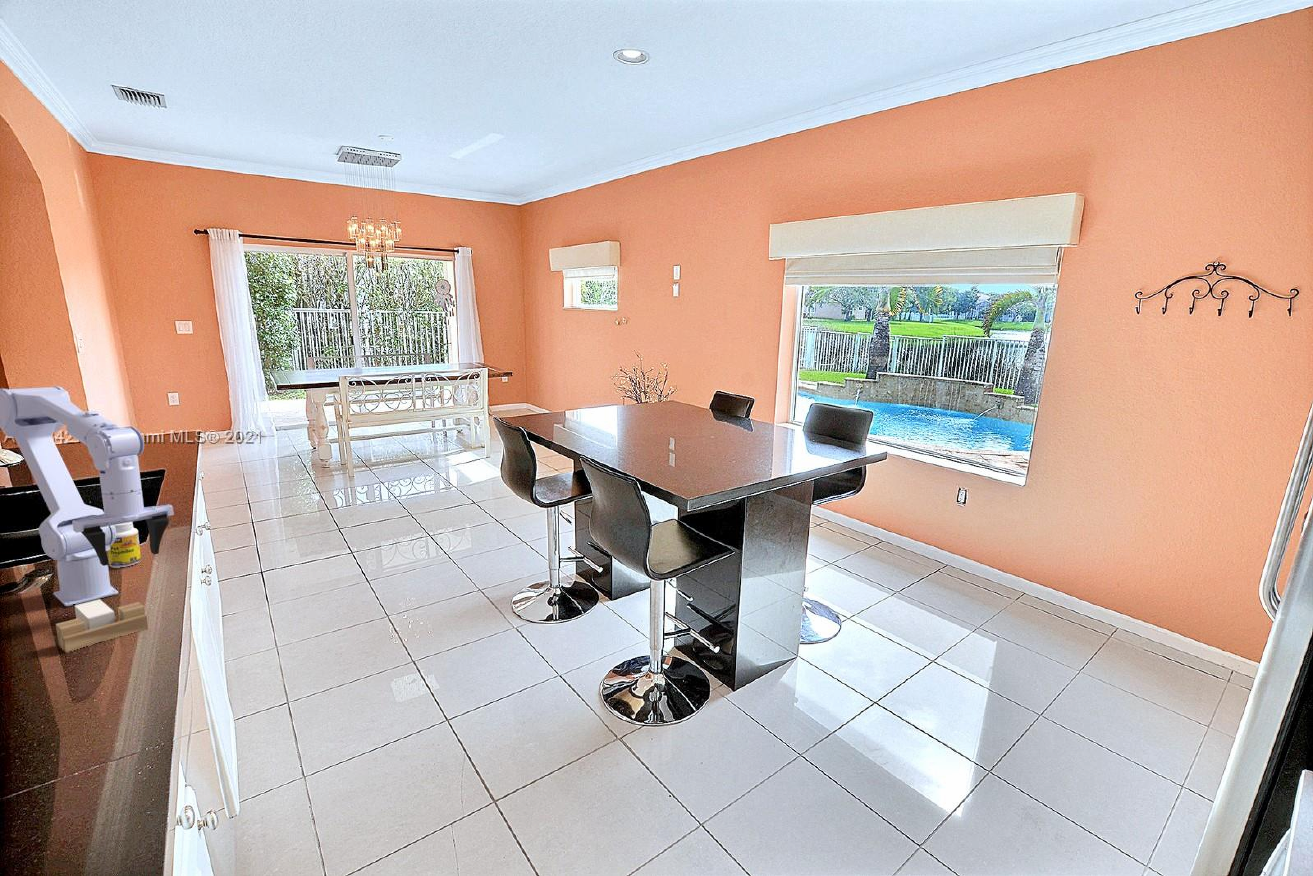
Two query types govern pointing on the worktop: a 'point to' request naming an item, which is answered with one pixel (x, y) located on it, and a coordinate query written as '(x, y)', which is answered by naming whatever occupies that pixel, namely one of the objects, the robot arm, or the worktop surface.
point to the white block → (95, 614)
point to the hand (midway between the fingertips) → (130, 558)
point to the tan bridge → (101, 628)
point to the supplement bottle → (124, 546)
